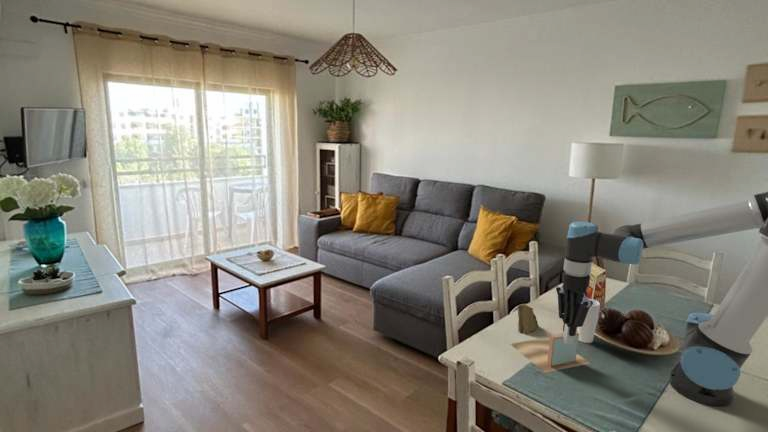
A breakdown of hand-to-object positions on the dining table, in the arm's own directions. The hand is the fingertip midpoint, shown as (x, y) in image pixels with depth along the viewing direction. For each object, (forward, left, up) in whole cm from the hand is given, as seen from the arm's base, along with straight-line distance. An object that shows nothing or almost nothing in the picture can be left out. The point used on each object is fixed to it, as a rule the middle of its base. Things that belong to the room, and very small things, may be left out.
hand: (567, 343), depth 131 cm
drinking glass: (+12, -19, -9) cm, 24 cm away
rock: (+25, -5, -9) cm, 27 cm away
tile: (+2, 0, -8) cm, 8 cm away
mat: (+8, 0, -9) cm, 12 cm away
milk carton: (+33, -42, -9) cm, 54 cm away
